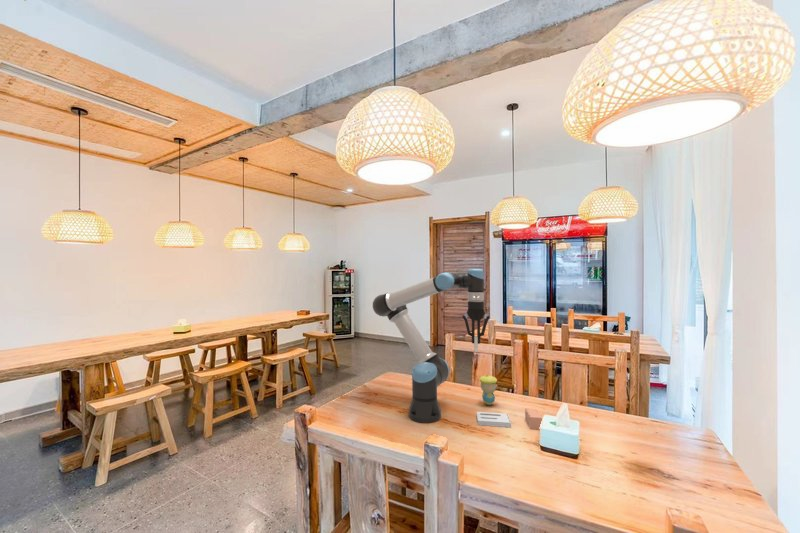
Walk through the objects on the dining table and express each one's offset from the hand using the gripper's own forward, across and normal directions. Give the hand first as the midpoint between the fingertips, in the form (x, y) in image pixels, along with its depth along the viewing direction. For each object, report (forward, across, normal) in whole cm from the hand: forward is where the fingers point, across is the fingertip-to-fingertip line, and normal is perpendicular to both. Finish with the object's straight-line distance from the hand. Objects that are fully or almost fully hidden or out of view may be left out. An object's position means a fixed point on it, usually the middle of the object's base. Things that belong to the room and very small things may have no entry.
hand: (475, 350), depth 152 cm
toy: (+30, +7, +12) cm, 33 cm away
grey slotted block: (+30, +7, -7) cm, 32 cm away
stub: (+30, +24, -7) cm, 39 cm away
